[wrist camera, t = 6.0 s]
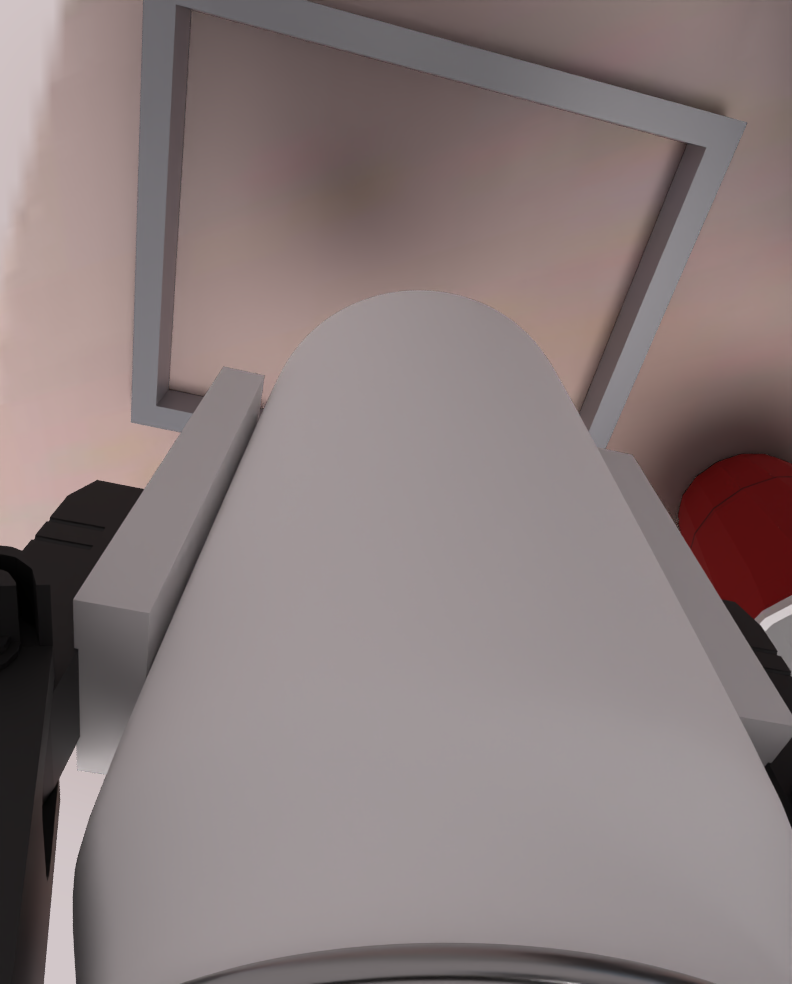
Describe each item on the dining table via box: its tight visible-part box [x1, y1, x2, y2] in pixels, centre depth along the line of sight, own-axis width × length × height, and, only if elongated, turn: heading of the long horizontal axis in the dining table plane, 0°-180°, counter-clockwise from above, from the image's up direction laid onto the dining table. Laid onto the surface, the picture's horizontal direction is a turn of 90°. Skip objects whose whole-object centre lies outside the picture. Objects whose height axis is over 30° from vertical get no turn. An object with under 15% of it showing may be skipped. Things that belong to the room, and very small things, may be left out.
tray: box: [131, 0, 747, 449], centre depth 26 cm, size 16×20×2 cm
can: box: [73, 290, 792, 984], centre depth 10 cm, size 6×6×12 cm
